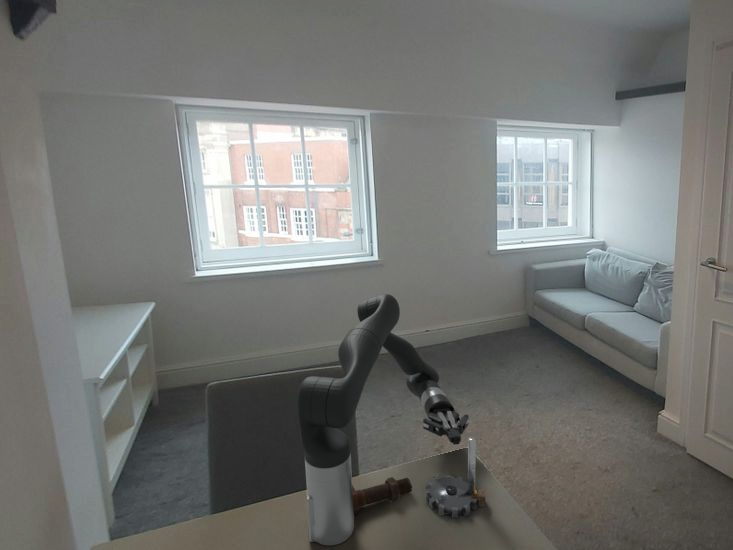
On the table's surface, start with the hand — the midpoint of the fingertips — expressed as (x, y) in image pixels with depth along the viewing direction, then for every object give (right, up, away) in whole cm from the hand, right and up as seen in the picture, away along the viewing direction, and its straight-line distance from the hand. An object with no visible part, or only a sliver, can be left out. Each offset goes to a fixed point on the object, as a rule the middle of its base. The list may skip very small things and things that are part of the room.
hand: (456, 441), depth 102 cm
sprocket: (-3, -10, -8) cm, 13 cm away
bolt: (-19, -11, -8) cm, 23 cm away
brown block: (+3, -10, -9) cm, 14 cm away
